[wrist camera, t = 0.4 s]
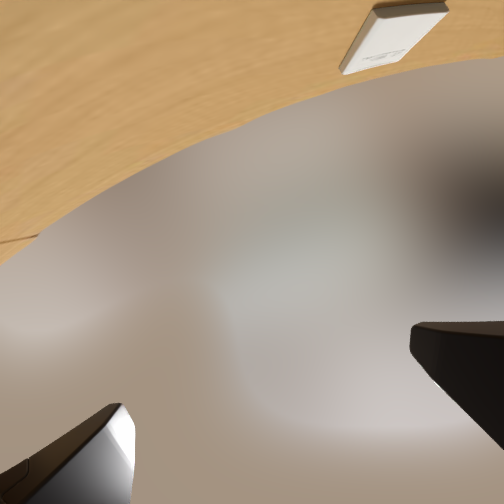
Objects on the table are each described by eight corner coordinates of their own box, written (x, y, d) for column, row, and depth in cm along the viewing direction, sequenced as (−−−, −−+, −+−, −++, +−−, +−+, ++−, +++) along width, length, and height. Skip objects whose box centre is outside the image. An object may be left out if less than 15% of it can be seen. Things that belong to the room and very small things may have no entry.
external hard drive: (441, -3, 16) (394, 50, 28) (368, 4, 17) (336, 64, 29) (451, 12, 16) (401, 61, 29) (379, 19, 17) (343, 76, 29)
